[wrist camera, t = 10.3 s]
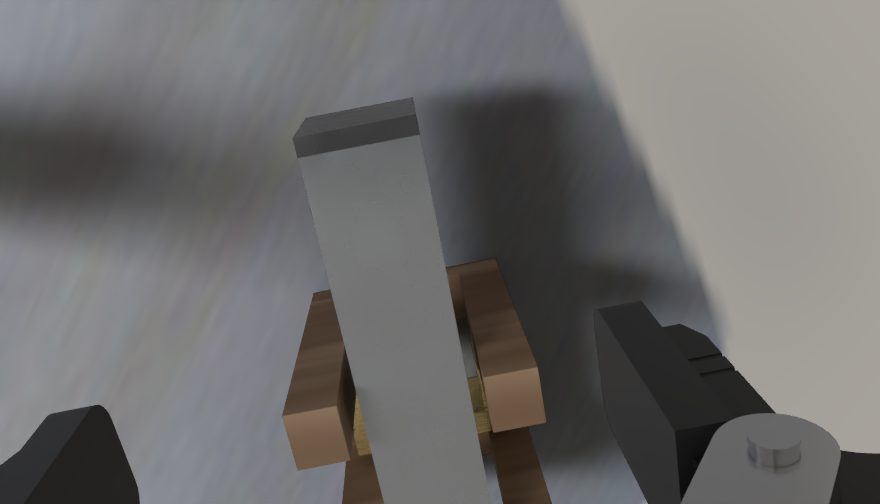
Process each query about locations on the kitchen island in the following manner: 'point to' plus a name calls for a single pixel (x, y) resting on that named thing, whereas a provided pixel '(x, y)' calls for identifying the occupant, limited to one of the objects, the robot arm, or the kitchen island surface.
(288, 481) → the kitchen island surface
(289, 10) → the kitchen island surface
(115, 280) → the kitchen island surface
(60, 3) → the kitchen island surface
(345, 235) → the shaft
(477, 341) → the brown wooden frame
